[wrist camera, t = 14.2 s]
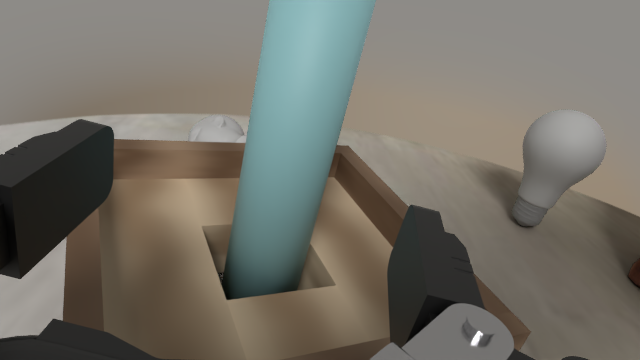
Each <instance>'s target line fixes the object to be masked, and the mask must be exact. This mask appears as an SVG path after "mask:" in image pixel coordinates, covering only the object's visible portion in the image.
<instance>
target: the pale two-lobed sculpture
mask: <svg viewBox="0 0 640 360" xmlns="http://www.w3.org/2000/svg"><path fill="white" fill-rule="evenodd" d="M246 138H247V135H244V133H243V130H242V128H241V126H240V125H239V124H238V123H237V122H236V121H235V120H234V119H232V118H230V117H228V116H225V115H211V116H208V117H206V118H204V119H202V120H200V121H199V122H197V123H196V124H195V125H194V126H193V127H192V129H191V130H190V133H189V136H188V141H195V142H231V143H246Z"/></svg>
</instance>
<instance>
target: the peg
mask: <svg viewBox="0 0 640 360" xmlns="http://www.w3.org/2000/svg"><path fill="white" fill-rule="evenodd" d="M375 2H376V0H270V2H269V7H268V14H267V19H266V25H265V31H264V37H263V43H262V49H261V56H260V61H259V67H258V73H257V79H256V84H255V91H254V96H253V102H252V108H251V114H250V120H249V126H248V132H247V138H246V144H245V150H244V156H243V162H242V167H241V173H240V179H239V185H238V191H237V197H236V203H235V209H234V215H233V221H232V227H231V233H230V239H229V244H228V250H227V256H226V262H225V268H224V274H223V280H222V288H223V291H224V294H225V297H226V300H232V299H239V298H247V297H254V296H261V295H269V294H276V293H284V292H291V291H297V289H298V285H299V281H300V278H301V274H302V270H303V267H304V263H305V259H306V256H307V252H308V248H309V245H310V241H311V237H312V234H313V230H314V226H315V222H316V219H317V215H318V211H319V208H320V204H321V200H322V197H323V193H324V189H325V186H326V182H327V178H328V175H329V171H330V167H331V164H332V160H333V156H334V153H335V149H336V145H337V142H338V138H339V134H340V131H341V127H342V123H343V120H344V116H345V112H346V108H347V105H348V101H349V97H350V93H351V90H352V86H353V83H354V79H355V75H356V72H357V68H358V64H359V61H360V57H361V53H362V50H363V46H364V42H365V38H366V35H367V31H368V27H369V24H370V20H371V17H372V13H373V9H374V5H375Z"/></svg>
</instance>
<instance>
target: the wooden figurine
mask: <svg viewBox="0 0 640 360" xmlns="http://www.w3.org/2000/svg"><path fill="white" fill-rule="evenodd" d="M628 277H629V278H630V279H631V280H632V281H633V282H634V283H635V284H636V285H638V286H639V287H640V258H639V259H638V260H637V261H636V262H635V263H634V264H633V265H632V268H631V269H630V272H629V275H628Z"/></svg>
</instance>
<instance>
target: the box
mask: <svg viewBox="0 0 640 360" xmlns="http://www.w3.org/2000/svg"><path fill="white" fill-rule="evenodd" d="M245 144H246V143H231V142H195V141H159V140H123V139H114V163H113V184H112V188H111V191H110V193H109V195H108V197H107V199H106V200H105V201H104V202H103V203H102V204H101V205H100V206H99V207H98V208H97V209H96V210H95V211H94V212H93V213H91V214H90V215H89V216H88V217H87V218H86V219H85V220H84V221H83V222H82V223H81V224H80V225H78V226H77V227H76V228H75V229H74V230H73V231H72V232H71V233H70V234H69V235H68V236H67V243H66V264H65V286H64V308H63V321H65V322H69V323H73V324H77V325H81V326H85V327H89V328H93V329H97V330H101V331H105V332H108V333H110V334H112V335H114V336H116V337H118V338H120V339H121V340H123V341H125V342H127V343H129V344H131V345H133V346H135V347H136V348H138V349H140V350H142V351H144V352H146V353H148V354H150V355H151V356H154V357H156V358H160V359H181V360H370V359H371V358H372V357H373V356H374V355H376V354H377V353H378V352H379V351H380V350H382V349H383V348H384V347H385V346H387V345H388V344H390V327H389V305H388V283H387V269H388V263H389V258H390V255H391V251H392V249H393V246H394V243H395V241H396V238H397V236H398V233H399V230H400V228H401V225H402V222H403V220H404V217H405V214H406V212H407V210H408V208H409V207H408V206H407V205H406V204H405V203H404V202H403V201H402V200H401V199H400V198H399V197H398V196H397V195H396V194H395V193H394V192H393V191H392V190H391V189H390V188H389V187H388V186H387V185H386V184H385V183H384V182H383V181H382V180H381V179H380V178H379V177H378V176H377V175H376V174H375V173H374V172H373V171H372V170H371V169H370V168H369V167H368V166H367V165H366V163H365V162H364V161H363V160H362V159H361V158H360V157H359V156H358V155H357V154H356V153H355V152H354V151H353V150H352V149H351V148H350V147H349V146H340V145H336V149H335V153H334V156H333V160H332V164H331V167H330V171H329V175H328V178H327V182H326V186H325V189H324V193H323V197H322V200H321V204H320V208H319V211H318V215H317V219H316V222H315V226H314V230H313V234H312V237H311V241H310V245H309V248H308V252H307V256H306V259H305V263H304V267H303V270H302V274H301V278H300V281H299V285H298V289H297V290H298V291H291V292H284V293H276V294H269V295H261V296H254V297H247V298H239V299H232V300H226V297H225V294H224V291H223V288H222V285H221V282H220V280H219V277H218V274H217V273H224V268H225V262H226V256H227V250H228V244H229V239H230V233H231V227H232V221H233V215H234V209H235V203H236V197H237V191H238V185H239V179H240V173H241V167H242V162H243V156H244V150H245ZM473 275H474V276H475V279H476V282H477V285H478V288H479V291H480V294H481V298H482V301H483V304H484V307H485V310H486V311H488V312H490V313H491V314H493V315H494V316H495V317H497V318H498V319H499V320H500V321H501V322H502V323H503V324H504V325H505V326H506V327H507V329H508V330H509V331H510V333H511V335H512V337H513V341H514V348H515V349H516V350H518V351H519V350H520V349H521V347H522V345H523V344H524V342H525V341H526V339H527V337H528V336H529V334H530V333H531V331H530V330H529V329H528V328H527V327H526V326H525V325H524V324H523V323H522V322H521V321H520V320H519V319H518V318H517V317H516V316H515V315H514V314H513V313H512V312H511V311H510V310H509V309H508V308H507V307H506V306H505V305H504V304H503V303H502V302H501V301H500V300H499V299H498V298H497V297H496V296H495V295H494V294H493V293H492V292H491V290H490V289H489V288H488V287H487V286H486V285H485V284H484V283H483V282H482V281H481V280H480V279H479V278H478V277H477V276H476V275H475V274H474V273H473Z"/></svg>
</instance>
